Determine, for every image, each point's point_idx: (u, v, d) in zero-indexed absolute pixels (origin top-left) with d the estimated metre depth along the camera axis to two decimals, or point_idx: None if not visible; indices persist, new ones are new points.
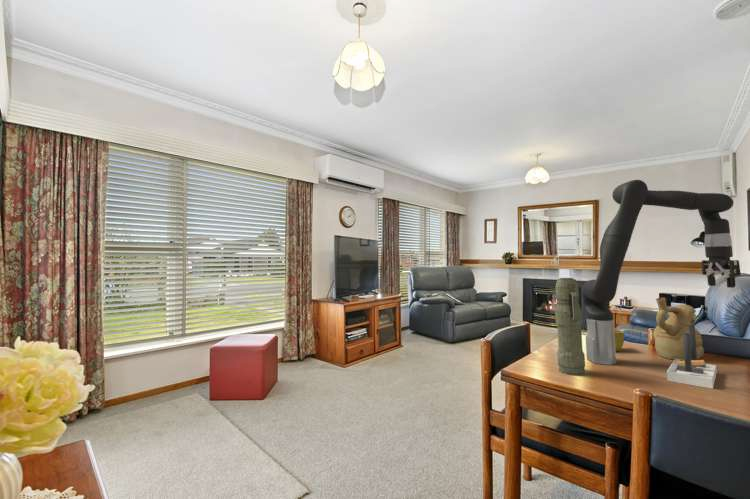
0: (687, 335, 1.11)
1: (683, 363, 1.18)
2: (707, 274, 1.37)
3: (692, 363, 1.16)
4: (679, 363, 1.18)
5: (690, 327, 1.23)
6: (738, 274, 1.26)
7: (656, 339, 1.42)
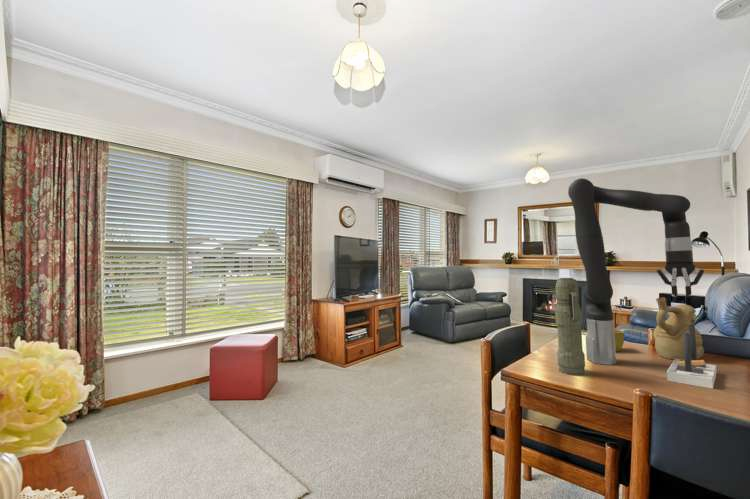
0: (687, 335, 1.11)
1: (683, 363, 1.18)
2: (674, 283, 1.26)
3: (692, 363, 1.16)
4: (679, 363, 1.18)
5: (690, 327, 1.23)
6: (696, 283, 1.23)
7: (656, 339, 1.42)
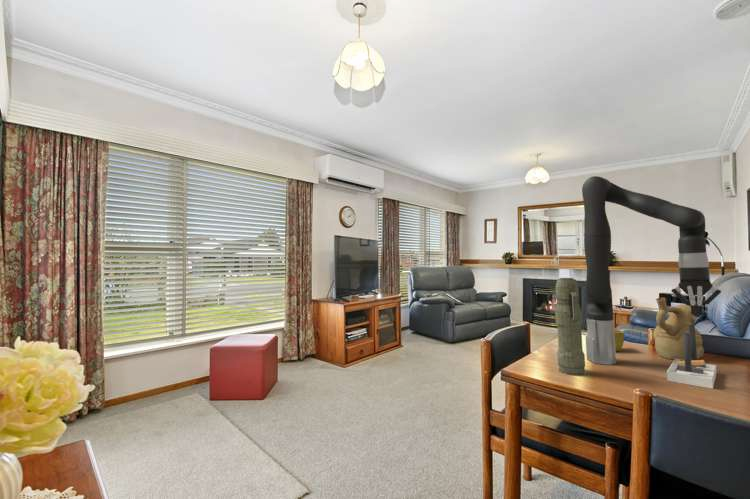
0: (687, 335, 1.11)
1: (683, 363, 1.18)
2: (694, 303, 1.16)
3: (692, 363, 1.16)
4: (679, 363, 1.18)
5: (690, 327, 1.23)
6: (708, 303, 1.14)
7: (656, 339, 1.42)
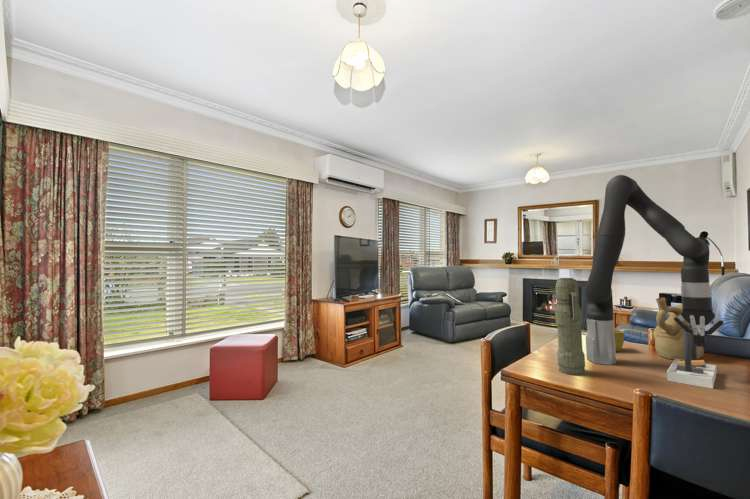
0: (687, 335, 1.11)
1: (683, 363, 1.18)
2: (696, 333, 1.15)
3: (692, 363, 1.16)
4: (679, 363, 1.18)
5: (690, 327, 1.23)
6: None
7: (656, 339, 1.42)
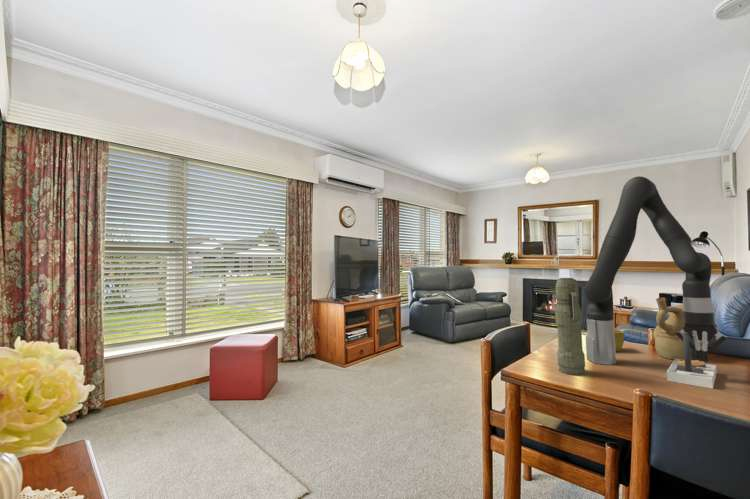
0: (687, 335, 1.11)
1: (683, 363, 1.18)
2: (699, 348, 1.15)
3: (692, 363, 1.16)
4: (679, 363, 1.18)
5: None
6: (713, 348, 1.13)
7: (656, 339, 1.42)
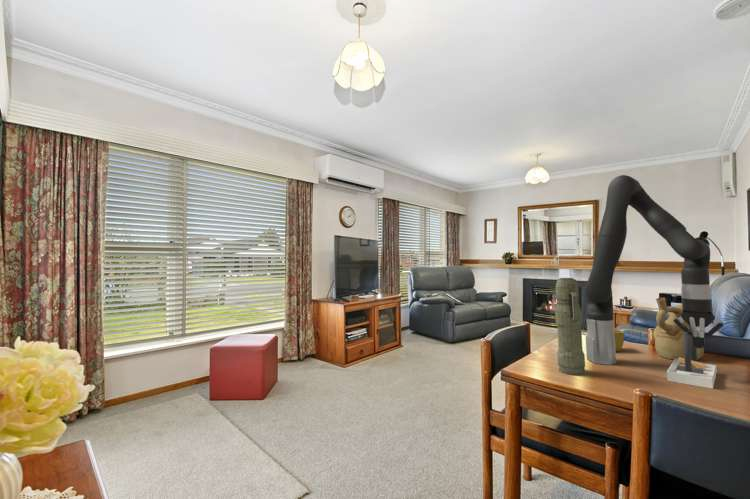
0: (687, 335, 1.11)
1: (684, 361, 1.17)
2: (696, 334, 1.15)
3: (693, 364, 1.16)
4: (680, 360, 1.18)
5: (690, 327, 1.23)
6: None
7: (656, 339, 1.42)
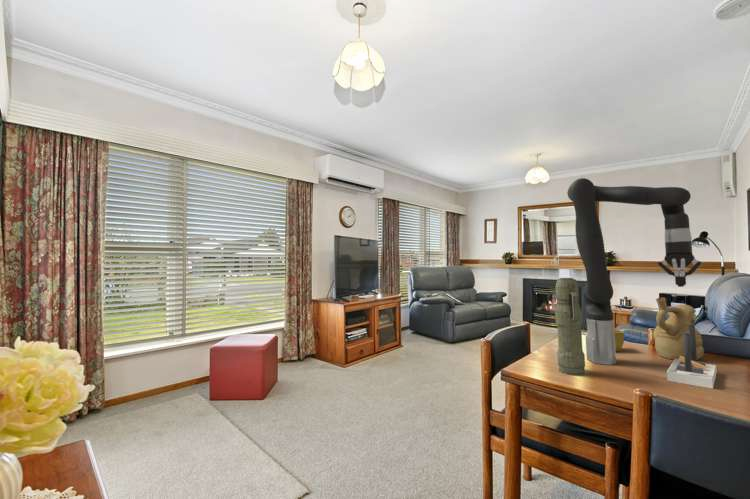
0: (687, 335, 1.11)
1: None
2: (677, 274, 1.27)
3: (694, 364, 1.16)
4: (681, 358, 1.18)
5: (690, 327, 1.23)
6: None
7: (656, 339, 1.42)
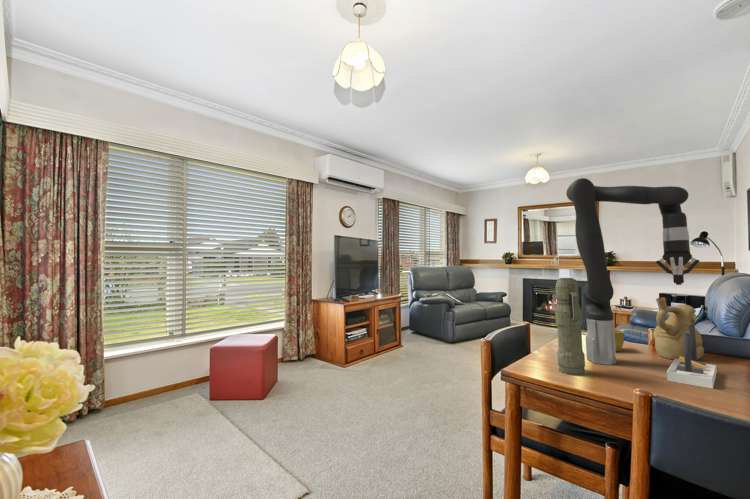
0: (687, 335, 1.11)
1: None
2: (675, 272, 1.29)
3: (693, 364, 1.16)
4: (681, 359, 1.18)
5: (690, 327, 1.23)
6: (688, 272, 1.27)
7: (656, 339, 1.42)
